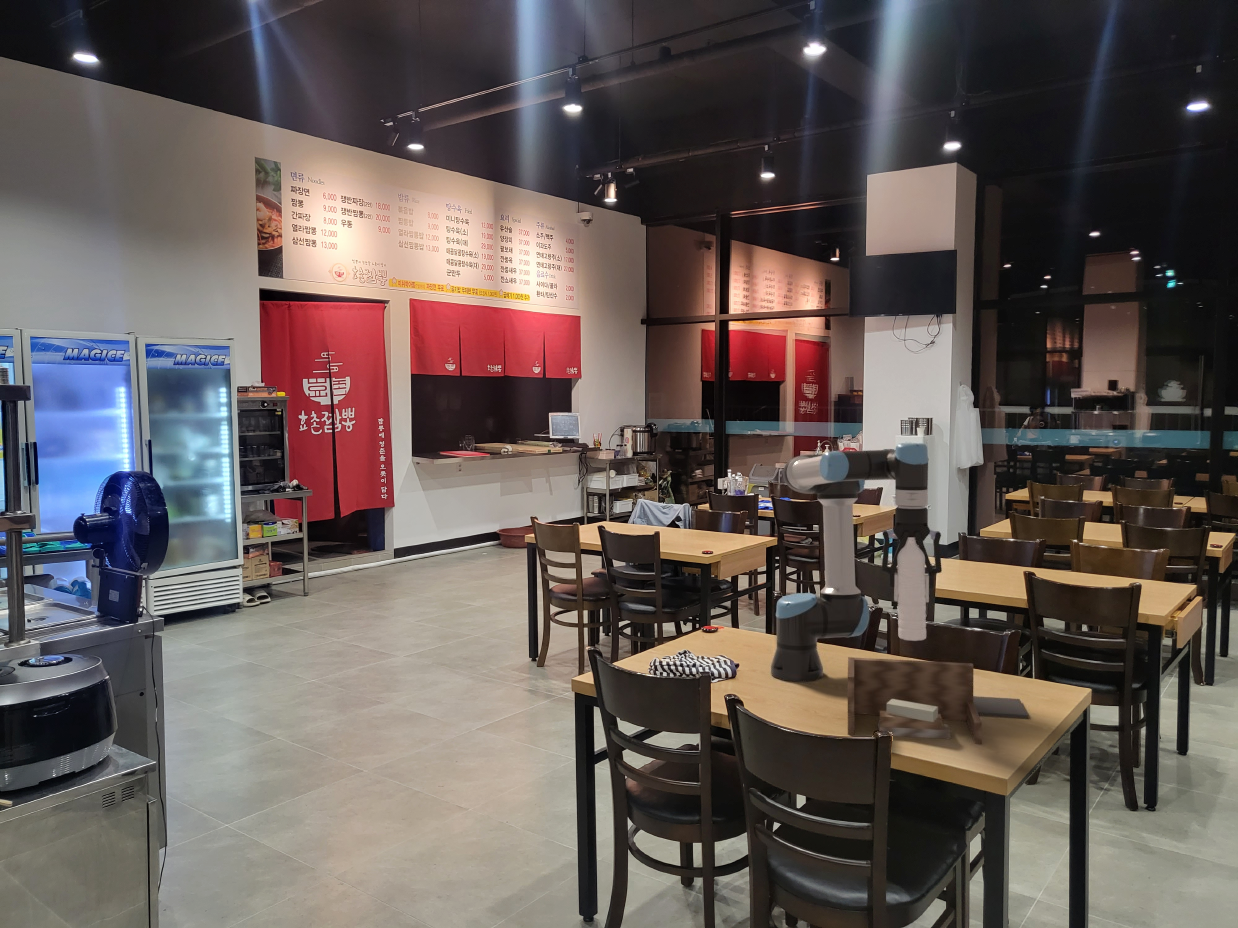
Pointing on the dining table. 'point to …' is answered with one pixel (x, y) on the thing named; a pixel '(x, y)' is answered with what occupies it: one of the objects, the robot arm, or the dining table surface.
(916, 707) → the offcut top
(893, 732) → the offcut bottom
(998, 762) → the dining table surface
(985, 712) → the rubber mat
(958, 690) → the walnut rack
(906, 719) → the offcut middle
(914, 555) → the water bottle
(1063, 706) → the dining table surface
